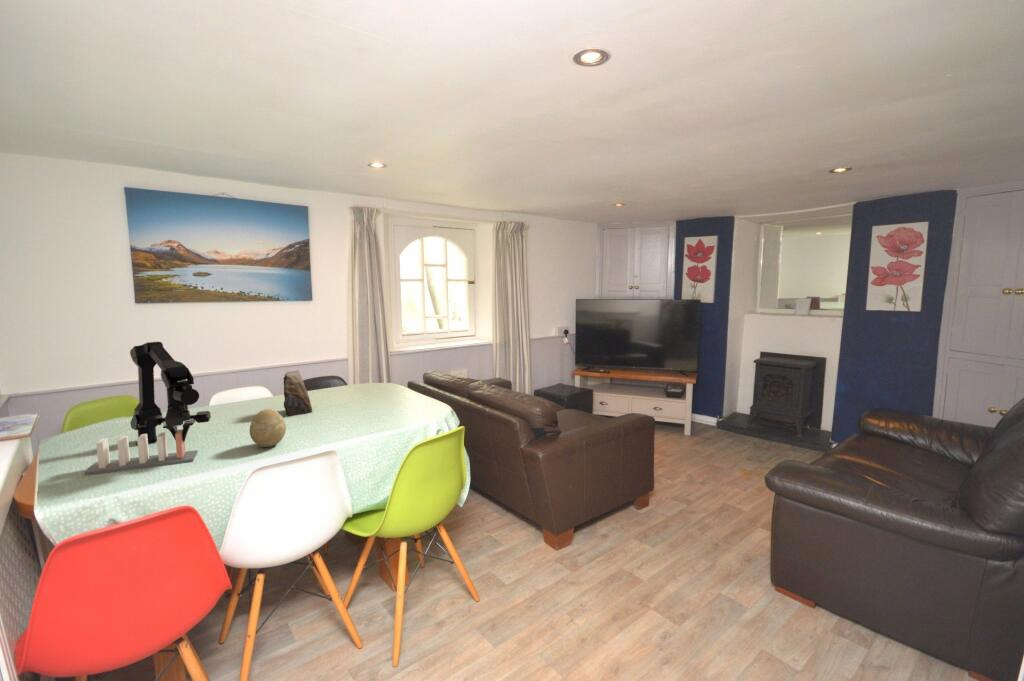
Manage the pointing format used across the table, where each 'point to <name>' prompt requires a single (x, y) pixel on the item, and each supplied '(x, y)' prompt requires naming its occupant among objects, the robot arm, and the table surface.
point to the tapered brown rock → (295, 395)
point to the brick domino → (180, 444)
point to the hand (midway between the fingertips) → (180, 441)
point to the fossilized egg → (267, 428)
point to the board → (135, 463)
